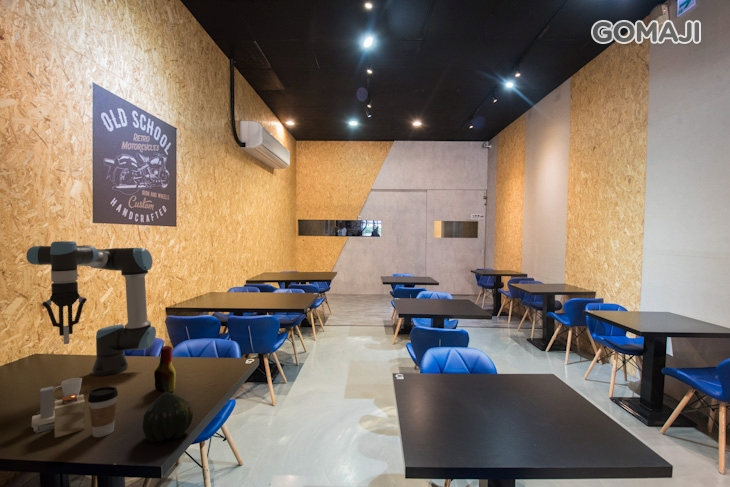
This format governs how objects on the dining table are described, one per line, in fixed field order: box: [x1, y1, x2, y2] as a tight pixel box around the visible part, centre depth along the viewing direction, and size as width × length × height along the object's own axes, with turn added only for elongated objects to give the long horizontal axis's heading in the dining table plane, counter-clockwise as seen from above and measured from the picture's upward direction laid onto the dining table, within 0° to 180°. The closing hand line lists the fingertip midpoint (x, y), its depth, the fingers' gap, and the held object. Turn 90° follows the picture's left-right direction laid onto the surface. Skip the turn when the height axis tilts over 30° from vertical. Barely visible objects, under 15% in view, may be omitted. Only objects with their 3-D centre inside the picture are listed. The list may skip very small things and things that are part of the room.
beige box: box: [54, 393, 86, 439], centre depth 123 cm, size 8×8×10 cm
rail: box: [34, 407, 55, 434], centre depth 129 cm, size 6×19×2 cm, turn 42°
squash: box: [142, 392, 194, 443], centre depth 118 cm, size 14×15×15 cm
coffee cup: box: [87, 386, 119, 438], centre depth 120 cm, size 8×8×15 cm
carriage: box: [31, 385, 55, 432], centre depth 126 cm, size 8×7×13 cm
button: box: [61, 394, 77, 404], centre depth 123 cm, size 4×4×7 cm
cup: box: [53, 377, 83, 401], centre depth 146 cm, size 7×10×8 cm
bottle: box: [153, 345, 176, 393], centre depth 155 cm, size 12×6×20 cm, turn 58°
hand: (66, 343), depth 131 cm, fingers closed
